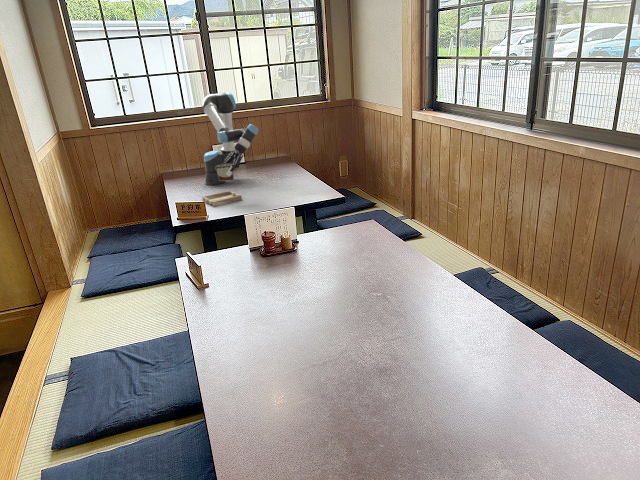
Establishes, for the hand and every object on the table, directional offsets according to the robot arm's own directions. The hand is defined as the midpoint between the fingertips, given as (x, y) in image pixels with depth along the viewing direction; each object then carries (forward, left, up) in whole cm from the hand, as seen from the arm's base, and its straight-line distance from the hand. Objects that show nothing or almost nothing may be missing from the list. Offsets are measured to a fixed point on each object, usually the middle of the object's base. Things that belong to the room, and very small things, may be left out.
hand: (224, 174), depth 313 cm
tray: (+1, -4, -17) cm, 17 cm away
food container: (-1, +2, -4) cm, 5 cm away
